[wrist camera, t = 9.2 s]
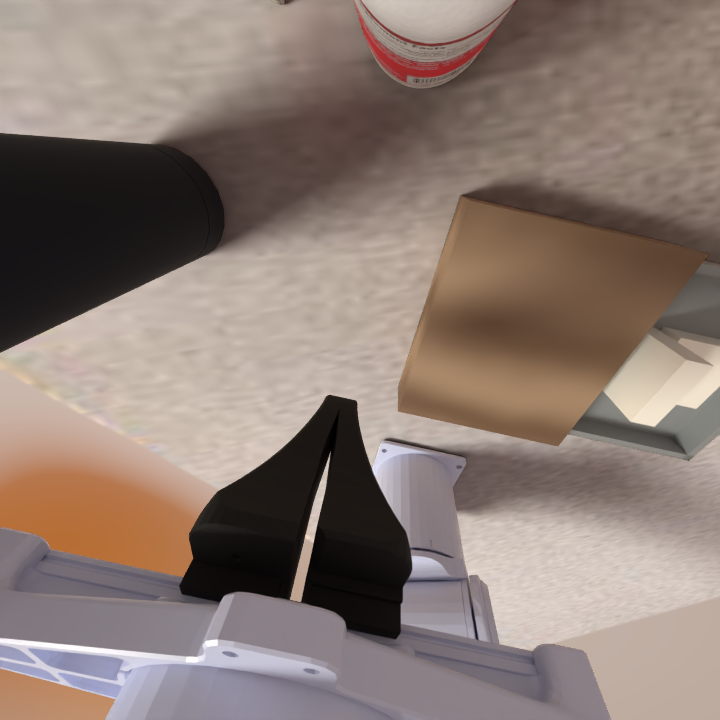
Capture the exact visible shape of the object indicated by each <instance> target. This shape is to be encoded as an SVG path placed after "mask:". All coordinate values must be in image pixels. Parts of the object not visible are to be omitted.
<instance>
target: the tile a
mask: <svg viewBox="0 0 720 720" xmlns="http://www.w3.org/2000/svg"><path fill="white" fill-rule="evenodd" d="M713 367H714V366H713V365H712V364H710V363H709V362H707V361H706V360H704V359H703V358H701V357H700V356H698V355H696V354H695V353H693V352H692V351H690V350H689V349H687V348H686V347H684V346H683V345H681V344H679V343H678V342H676V341H675V340H673V339H672V338H670V337H669V336H667V335H666V334H664V333H662V332H661V331H659V330H658V329H656V328H654V327H652V328H651V329H650V330H649V332H648V333H647V334H646V335H645V337H644V338H643V339H642V340H641V342H640V343H639V344H638V346H637V347H636V348H635V349H634V351H633V352H632V353H631V354H630V356H629V357H628V358H627V359H626V361H625V362H624V363H623V365H622V366H621V367H620V368H619V370H618V371H617V372H616V373H615V375H614V376H613V377H612V378H611V380H610V381H609V382H608V384H607V385H606V386H605V387H604V389H603V391H604V393H605V394H606V395H607V396H608V397H609V398H610V399H611V400H612V402H613V403H614V404H615V405H616V406H617V407H618V408H619V409H620V411H621V412H622V413H623V414H624V415H625V416H626V417H627V418H628V420H629V421H630V422H634V423H639V424H644V425H648V426H653V427H655V426H656V425H657V424H658V423H659V422H660V421H661V420H662V419H663V418H664V417H665V416H666V415H667V414H668V413H669V412H670V411H671V410H672V409H673V408H674V407H675V406H676V405H677V404H678V403H679V402H680V401H681V399H682V398H683V397H684V396H685V395H686V394H687V393H688V392H689V391H690V390H691V389H692V388H693V387H694V386H695V385H696V384H697V383H698V382H699V381H700V380H701V379H702V378H703V377H704V376H705V375H706V374H707V373H708V372H709V371H710V370H711V369H712V368H713Z"/></svg>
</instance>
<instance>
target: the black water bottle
mask: <svg viewBox="0 0 720 720" xmlns="http://www.w3.org/2000/svg"><path fill="white" fill-rule="evenodd" d="M223 229H224V212H223V206H222V203H221V200H220V197H219V194H218V191H217V189H216V187H215V186H214V184H213V183H212V181H211V179H210V178H209V176H208V174H207V173H206V172H205V171H204V170H203V169H202V168H201V167H200V166H199V165H198V164H197V163H196V162H195V161H194V160H193V159H192V158H190V157H189V156H187V155H185V154H184V153H182V152H180V151H178V150H177V149H175V148H170V147H166V146H161V145H154V144H140V143H127V142H113V141H100V140H86V139H72V138H59V137H45V136H32V135H18V134H4V133H0V353H1V352H3V351H5V350H7V349H9V348H11V347H13V346H15V345H17V344H20V343H22V342H24V341H26V340H28V339H30V338H32V337H34V336H36V335H39V334H41V333H43V332H45V331H47V330H49V329H51V328H53V327H55V326H57V325H60V324H62V323H64V322H66V321H68V320H70V319H72V318H74V317H76V316H79V315H81V314H83V313H85V312H87V311H89V310H91V309H93V308H95V307H98V306H100V305H102V304H104V303H106V302H108V301H110V300H112V299H114V298H116V297H119V296H121V295H123V294H125V293H127V292H129V291H131V290H133V289H135V288H138V287H140V286H142V285H144V284H146V283H148V282H150V281H152V280H154V279H156V278H159V277H161V276H163V275H165V274H167V273H169V272H171V271H173V270H175V269H178V268H180V267H182V266H184V265H186V264H188V263H190V262H192V261H194V260H196V259H199V258H201V257H203V256H204V255H206V254H208V253H210V252H211V251H213V250H214V248H215V247H216V245H217V244H218V243H219V241H220V240H221V236H222V232H223Z"/></svg>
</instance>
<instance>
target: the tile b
mask: <svg viewBox="0 0 720 720" xmlns="http://www.w3.org/2000/svg"><path fill="white" fill-rule="evenodd" d="M660 331H661V332H662V333H664V334H666V335H667V336H669V337H670V338H672V339H673V340H675V341H676V342H678V343H679V344H681V345H683V346H684V347H686V348H687V349H689V350H690V351H692V352H693V353H695V354H696V355H698V356H700V357H701V358H703V359H704V360H706V361H707V362H709V363H710V364H712V365H713V366H714V367H713V368H712V369H711V370H710V371H709V372H708V373H707V374H706V375H705V376H704V377H703V378H702V379H701V380H700V381H699V382H698V383H697V384H696V385H695V386H694V387H693V388H692V389H691V390H690V391H689V392H688V393H687V394H686V395H685V396H684V397H683V398H682V399H681V401H680V402H679V403H678V404H677V405H680V406H685V407H689V408H694V409H697V408H698V407H699V406H700V405H701V404H702V403H703V402H704V401H705V400H706V399H707V398H708V397H709V396H710V395H711V394H712V393H713V392H714V391H715V390H717V389H718V388H719V387H720V339H716V338H712V337H707V336H702V335H698V334H693V333H689V332H684V331H680V330H675V329H671V328H666V327H663V328H662V329H661V330H660Z"/></svg>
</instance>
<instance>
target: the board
mask: <svg viewBox="0 0 720 720" xmlns="http://www.w3.org/2000/svg"><path fill="white" fill-rule="evenodd" d="M708 256H709V254H706V253H703V252H699V251H696V250H693V249H689V248H686V247H682V246H679V245H676V244H672V243H669V242H666V241H661V240H657V239H652V238H648V237H643V236H639V235H634V234H630V233H626V232H621V231H617V230H612V229H608V228H603V227H599V226H594V225H590V224H586V223H581V222H577V221H572V220H568V219H563V218H559V217H554V216H550V215H545V214H541V213H537V212H532V211H528V210H523V209H519V208H514V207H510V206H505V205H501V204H496V203H492V202H488V201H483V200H479V199H474V198H470V197H465V196H461V195H460V198H459V201H458V204H457V207H456V211H455V214H454V217H453V220H452V223H451V226H450V229H449V232H448V235H447V238H446V241H445V244H444V248H443V251H442V254H441V257H440V260H439V263H438V266H437V269H436V272H435V275H434V278H433V281H432V284H431V288H430V291H429V294H428V297H427V300H426V303H425V306H424V309H423V312H422V315H421V318H420V321H419V325H418V328H417V331H416V334H415V337H414V340H413V343H412V346H411V349H410V352H409V355H408V358H407V361H406V365H405V368H404V371H403V374H402V377H401V380H400V383H399V386H398V411H399V412H403V413H408V414H412V415H417V416H421V417H426V418H431V419H435V420H440V421H444V422H449V423H454V424H458V425H463V426H467V427H472V428H476V429H481V430H486V431H490V432H495V433H499V434H504V435H509V436H513V437H518V438H522V439H527V440H532V441H536V442H541V443H545V444H550V445H554V446H559V444H560V443H561V442H562V441H563V439H564V438H565V437H566V436H567V434H568V433H569V432H570V430H571V429H572V428H573V427H574V425H575V424H576V423H577V422H578V420H579V419H580V418H581V417H582V415H583V414H584V413H585V411H586V410H587V409H588V408H589V406H590V405H591V404H592V403H593V401H594V400H595V399H596V397H597V396H598V395H599V394H600V392H601V391H602V390H603V389H604V387H605V386H606V385H607V384H608V382H609V381H610V380H611V378H612V377H613V376H614V375H615V373H616V372H617V371H618V370H619V368H620V367H621V366H622V365H623V363H624V362H625V361H626V359H627V358H628V357H629V356H630V354H631V353H632V352H633V351H634V349H635V348H636V347H637V346H638V344H639V343H640V342H641V340H642V339H643V338H644V337H645V335H646V334H647V333H648V332H649V330H650V329H651V328H652V327H653V325H654V324H655V323H656V321H657V320H658V319H659V318H660V316H661V315H662V314H663V313H664V311H665V310H666V309H667V307H668V306H669V305H670V304H671V302H672V301H673V300H674V299H675V297H676V296H677V295H678V294H679V292H680V291H681V290H682V288H683V287H684V286H685V285H686V283H687V282H688V281H689V280H690V278H691V277H692V276H693V275H694V273H695V272H696V271H697V269H698V268H699V267H700V266H701V264H702V263H703V262H704V261H705V259H706V258H707V257H708Z"/></svg>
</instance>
